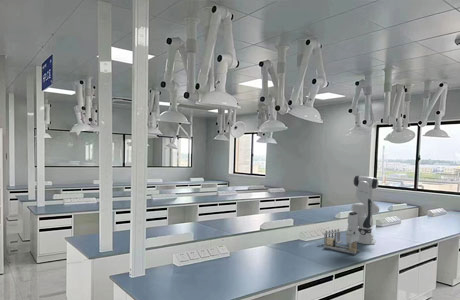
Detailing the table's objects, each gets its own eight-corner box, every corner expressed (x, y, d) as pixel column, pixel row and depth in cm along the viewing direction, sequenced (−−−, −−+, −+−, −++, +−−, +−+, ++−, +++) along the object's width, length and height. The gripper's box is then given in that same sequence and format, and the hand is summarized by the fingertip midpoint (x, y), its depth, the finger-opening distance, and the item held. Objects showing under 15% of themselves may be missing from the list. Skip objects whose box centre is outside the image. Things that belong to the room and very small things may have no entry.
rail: (328, 246, 297) (328, 236, 297) (358, 252, 278) (359, 242, 278) (324, 248, 289) (324, 238, 289) (354, 255, 271) (355, 244, 271)
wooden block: (349, 250, 281) (349, 241, 281) (356, 252, 277) (356, 242, 277) (347, 251, 278) (347, 242, 278) (355, 253, 274) (355, 243, 274)
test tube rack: (325, 245, 299) (325, 231, 299) (321, 244, 302) (322, 230, 303) (342, 242, 312) (342, 229, 312) (338, 241, 316) (338, 228, 316)
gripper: (353, 228, 287) (353, 243, 287) (344, 232, 272) (344, 248, 272) (360, 229, 283) (360, 245, 283) (352, 233, 268) (352, 249, 268)
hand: (352, 246), depth 277 cm, fingers open, 8 cm apart
